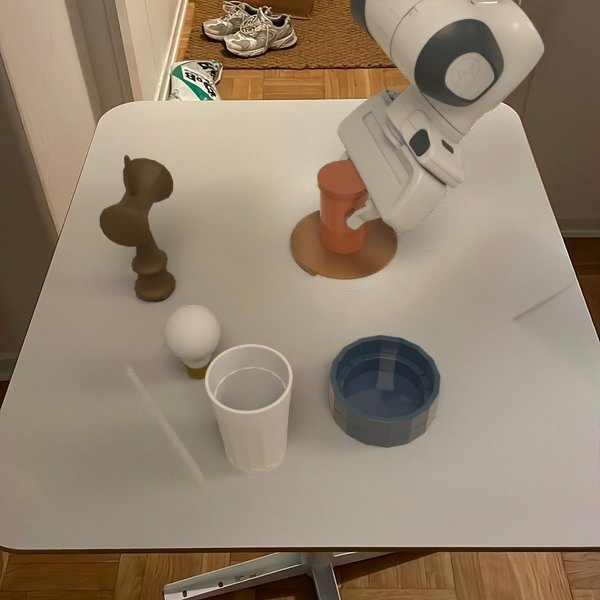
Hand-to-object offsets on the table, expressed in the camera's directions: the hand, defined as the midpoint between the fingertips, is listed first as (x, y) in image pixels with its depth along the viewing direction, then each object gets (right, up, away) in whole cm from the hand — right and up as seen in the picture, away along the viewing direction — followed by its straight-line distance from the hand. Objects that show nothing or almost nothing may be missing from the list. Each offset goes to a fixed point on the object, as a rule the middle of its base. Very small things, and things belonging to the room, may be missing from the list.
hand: (339, 205), depth 92 cm
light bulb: (-16, -20, -10) cm, 28 cm away
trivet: (+1, -5, +5) cm, 7 cm away
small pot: (+1, -4, +4) cm, 6 cm away
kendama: (-23, -11, 0) cm, 25 cm away
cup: (-9, -27, -17) cm, 33 cm away
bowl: (+4, -23, -13) cm, 27 cm away
